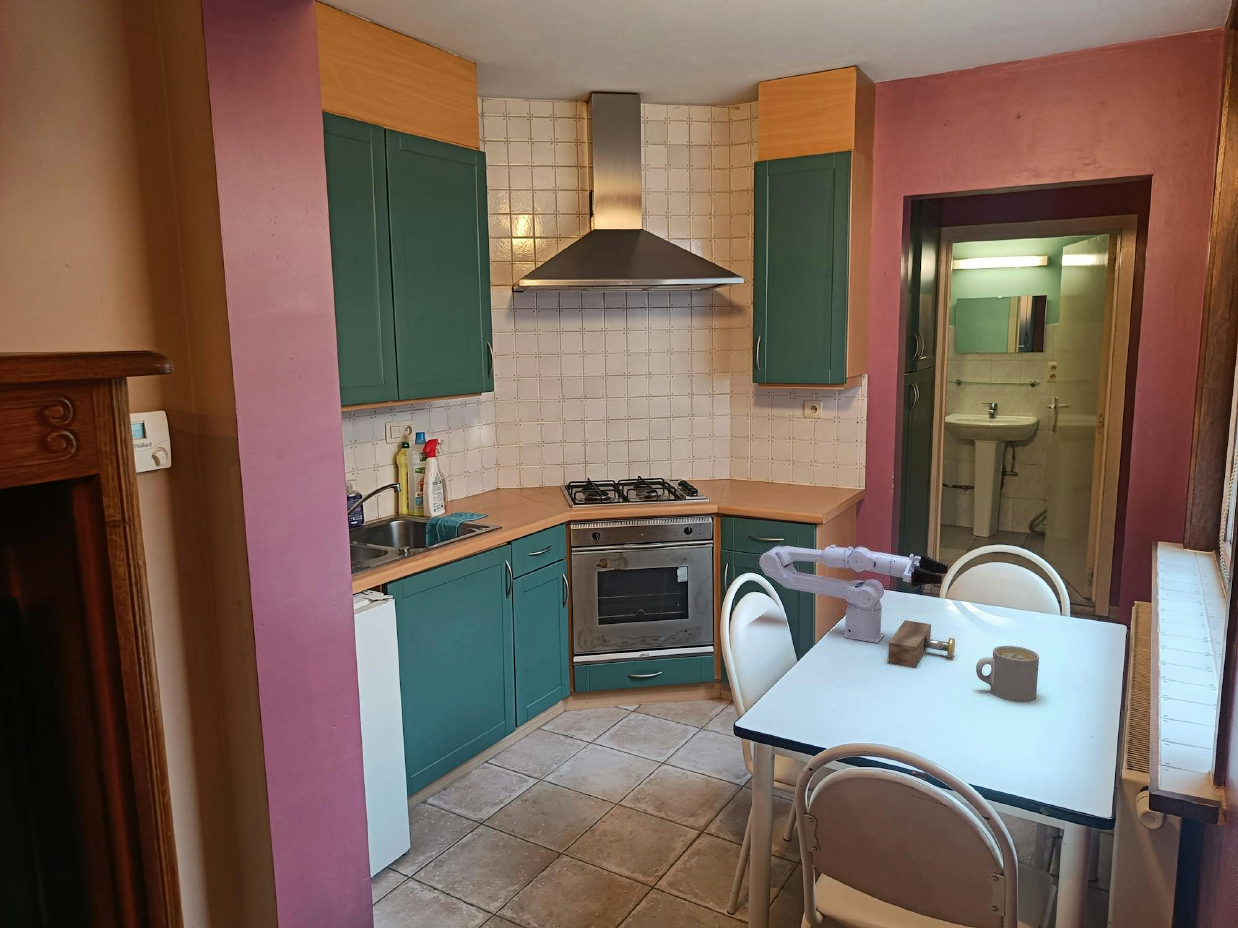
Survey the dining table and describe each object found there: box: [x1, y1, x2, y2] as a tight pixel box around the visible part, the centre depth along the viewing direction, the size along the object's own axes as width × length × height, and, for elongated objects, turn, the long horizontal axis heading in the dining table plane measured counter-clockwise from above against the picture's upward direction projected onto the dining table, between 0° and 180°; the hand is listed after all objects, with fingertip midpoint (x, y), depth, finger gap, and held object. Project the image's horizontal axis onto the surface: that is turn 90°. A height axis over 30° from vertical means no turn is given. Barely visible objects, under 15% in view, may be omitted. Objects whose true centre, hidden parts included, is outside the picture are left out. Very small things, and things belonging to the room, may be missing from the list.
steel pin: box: [924, 637, 956, 658], centre depth 230 cm, size 9×5×5 cm, turn 61°
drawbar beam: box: [887, 619, 932, 669], centre depth 232 cm, size 7×20×6 cm, turn 151°
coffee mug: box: [975, 645, 1040, 703], centre depth 206 cm, size 13×10×10 cm
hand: (944, 574), depth 231 cm, fingers open, 7 cm apart
